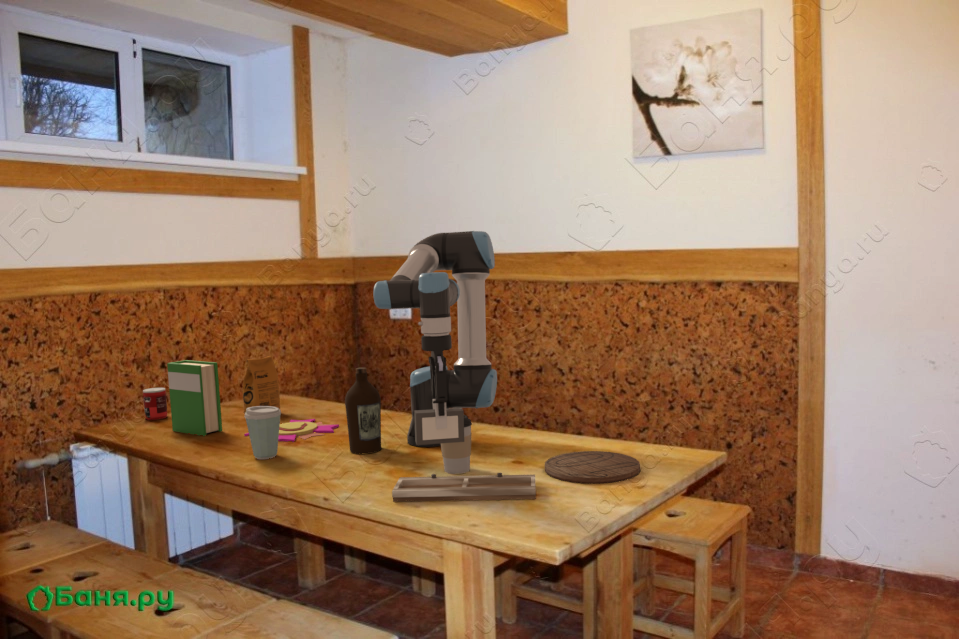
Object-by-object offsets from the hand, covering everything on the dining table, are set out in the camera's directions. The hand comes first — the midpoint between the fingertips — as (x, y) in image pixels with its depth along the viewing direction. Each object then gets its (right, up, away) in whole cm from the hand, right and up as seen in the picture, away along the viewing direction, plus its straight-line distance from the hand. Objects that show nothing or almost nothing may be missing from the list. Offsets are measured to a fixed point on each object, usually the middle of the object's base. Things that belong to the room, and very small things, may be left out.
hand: (440, 425), depth 195 cm
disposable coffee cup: (-54, -14, +35) cm, 66 cm away
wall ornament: (-54, -12, +67) cm, 87 cm away
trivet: (+40, -13, +9) cm, 43 cm away
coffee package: (-72, -9, +95) cm, 120 cm away
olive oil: (-25, -13, +38) cm, 47 cm away
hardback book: (-88, -12, +74) cm, 115 cm away
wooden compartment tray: (+6, -15, -7) cm, 18 cm away
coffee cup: (+4, -14, +13) cm, 20 cm away
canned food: (-113, -11, +99) cm, 151 cm away
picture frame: (0, -4, 0) cm, 4 cm away
